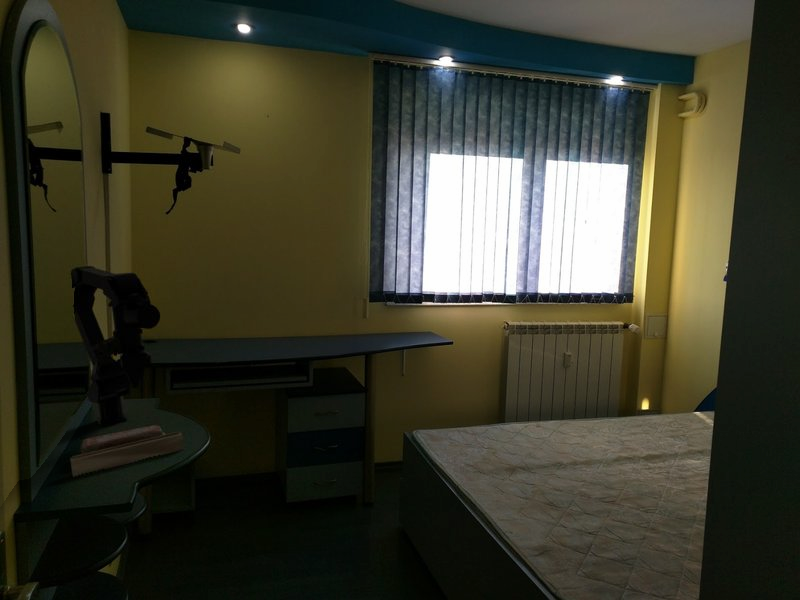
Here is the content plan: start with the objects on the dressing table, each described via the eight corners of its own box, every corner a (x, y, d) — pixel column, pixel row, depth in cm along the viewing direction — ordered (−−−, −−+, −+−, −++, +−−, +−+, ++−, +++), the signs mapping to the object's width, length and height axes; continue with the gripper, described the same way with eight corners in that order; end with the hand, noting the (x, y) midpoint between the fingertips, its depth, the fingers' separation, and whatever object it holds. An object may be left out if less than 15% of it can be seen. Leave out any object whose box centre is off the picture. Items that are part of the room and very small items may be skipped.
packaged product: (80, 449, 123) (78, 435, 132) (83, 471, 124) (81, 456, 133) (170, 429, 132) (163, 417, 141) (172, 450, 133) (165, 436, 142)
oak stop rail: (72, 473, 122) (69, 456, 121) (181, 446, 133) (180, 430, 133) (73, 477, 120) (70, 459, 120) (183, 449, 132) (182, 433, 131)
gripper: (86, 325, 145) (95, 385, 147) (93, 336, 129) (103, 404, 132) (135, 318, 151) (142, 377, 153) (147, 329, 135) (155, 394, 138)
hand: (135, 387), depth 144 cm, fingers closed
